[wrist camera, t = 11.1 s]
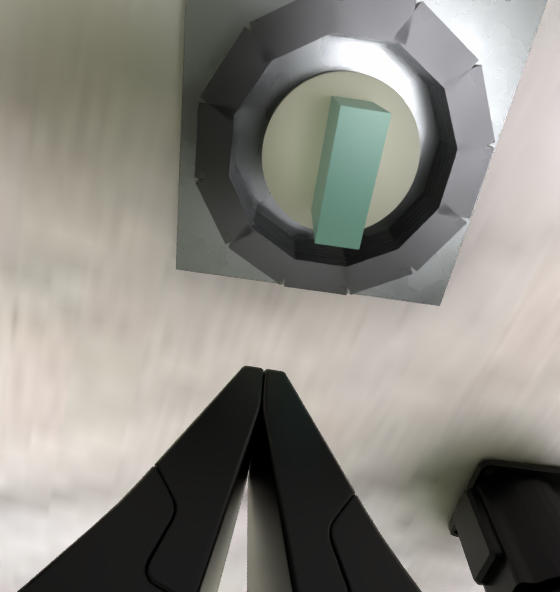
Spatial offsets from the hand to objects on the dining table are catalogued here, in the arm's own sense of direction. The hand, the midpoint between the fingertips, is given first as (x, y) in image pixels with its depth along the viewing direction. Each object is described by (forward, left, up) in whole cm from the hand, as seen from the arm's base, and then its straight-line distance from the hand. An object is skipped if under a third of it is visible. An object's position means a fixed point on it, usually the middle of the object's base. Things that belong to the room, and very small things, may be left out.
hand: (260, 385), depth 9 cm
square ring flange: (-2, -3, -12) cm, 12 cm away
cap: (-2, -3, -11) cm, 11 cm away
